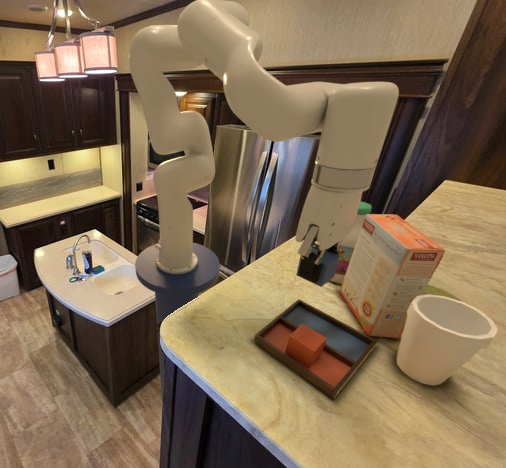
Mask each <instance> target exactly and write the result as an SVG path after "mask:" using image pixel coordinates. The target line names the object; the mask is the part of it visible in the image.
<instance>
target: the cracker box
mask: <svg viewBox="0 0 506 468" xmlns="http://www.w3.org/2000/svg"><path fill="white" fill-rule="evenodd" d="M446 251H447V250H446V249H445V248H443V247H442V246H441V245H440V244H438V243H436V242H435V241H434V240H432V239H431V238H429V236H427V235H426V234H424V233H423V232H421V231H420V230H418V229H417V228H416V227H414V226H413V225H411V224H410V223H409V222H407V221H406V220H405V219H403V218H402V217H400V216H399V215H398V214H393V213H390V214H389V213H385V214H384V213H381V214H377V213H370V214H366V217H365V220H364V223H363V226H362V228H361V231H360V234H359V237H358V240H357V243H356V246H355V248H354V251H353V254H352V257H351V260H350V263H349V266H348V269H347V271H346V274H345V277H344V280H343V283H342V284H341V285H340V289H339V293H340V294H341V296H342V297H343V299H344V301H345V302H346V303H347V306H349V308H350V310H351V311H352V313H353V314H354V317H355V318H356V320H357V321H358V323H359V324H360V325H361V327H362V329H363V331H364V332H365V333H366V335H367V336H369V337H377V338H387V339H388V338H389V339H397V340H398V339H401V337H402V334H403V330H404V327H405V323H406V319H407V310H408V308H409V306H410V304H411V302H412V301H413V300H414V299H415V298H416V297H417V296H421V295H423V293H424V291H425V289H426V287H427V285H429V284H430V281H431V279H432V278H433V276H434V274H435V272H436V271H437V268H438V267H439V265H440V263H441V261H442V259H443V258H444V255H445V253H446Z"/></svg>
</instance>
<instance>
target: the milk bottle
mask: <svg viewBox="0 0 506 468" xmlns="http://www.w3.org/2000/svg"><path fill="white" fill-rule="evenodd" d="M372 208H373V207H372V204H370V203H367V202H366V201H365V202H364V201H360V205H359V209H358V212H357V216H356V219H355V222H354V225H353V227H352V230H351V231H350V233H349V234H348V235H347V236H346V237H344V238H343V239H342V242H341V247H340V249H339V250H338V251H337V252H338V255H339V256H340V259H339V263H338V266H337V269H336V272H335V276H334V277H333V278H332V279H331V280H329V282H333V283H335V284H341V285H342V283H343V280H344V277H345V274H346V271H347V269H348V266H349V263H350V260H351V257H352V254H353V251H354V248H355V246H356V243H357V240H358V237H359V234H360V231H361V228H362V226H363V223H364V220H365V217H366V214H371V212H372V210H373V209H372ZM335 251H336V250H335Z"/></svg>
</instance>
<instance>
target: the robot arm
mask: <svg viewBox="0 0 506 468" xmlns="http://www.w3.org/2000/svg"><path fill="white" fill-rule="evenodd" d="M248 15H249V14H248V13H247V11H246V9H245V8H244V6H242V5H241V4H240V3H238V2H237V1H233V0H194V1H192V2H191V3H189V4H188V5H187V6H185V8H184V9H183V10H182V12H181V13H180V15H179V18H178V21H177V25H176V24H175V25H174V24H156V25H155V24H154V25H149V26H145V27H143V28H141V29H140V30H138V31H137V32H136V33H135V35H134V36H133V38H132V40H131V43H130V46H129V53H128V63H129V64H128V65H129V71H130V74H131V78H132V81H133V84H134V87H135V88H136V91H137V94H138V96H139V98H140V101H141V105H142V110H143V115H144V120H145V124H146V128H147V132H148V135H149V136H148V138H149V141H150V144H151V147H152V149H153V151H154V152H155V153H156V154H158V155H162V156H166V155H171V154H176V153H179V152H184V155H183V156H178V157H174V158H171V159H169V160H165V161H163V162H162V163H160V164H159V165H157V167H156V168H155V170H154V171H153V176H152V177H153V178H152V180H153V181H152V182H153V186H154V190H155V195H156V198H157V206H158V223H159V224H158V226H159V239H158V241H157V243H155V244H156V245H155V244H154V245H155V247H156V248H157V249H159V255H158V256H157V258H156V264H157V266H158V268H159V269H160V270H162V271H164V272H166V273H170V274H184V273H188V272H190V271H192V270H193V269H195V268H196V266H197V263H198V259H197V256H196V255H195V254H194V253H193V243H194V242H193V241H194V208H193V204H192V203H191V201H190V199H189V198H188V193H192V192H193V191H196V190H199V189H202V188H204V187H207V186H208V185H210V184H211V183H212V182H213V181H214V178H215V175H216V163H215V156H214V151H213V145H212V140H211V134H210V127H209V125H208V123H207V120H206V119H205V117H204V115H202V114H201V113H200V112H198V111H196V110H185V111H181V110H180V107H179V104H178V97H177V94H176V90H175V89H174V87H173V85H172V84H171V82H170V80H169V79H168V78H167V77H166V76H165V75H164V71H179V70H190V69H194V68H195V69H196V68H198V67H201V66H204V67H205V68H207V69H208V70H209V71H210V72H211V73H212V74H214V75H215V77H217V78H218V79H219V80H220V81H221V82H222V83H223V84H222V85H223V93H224V96H225V99H226V102H227V104H228V106H229V108H230V110H231V111H232V113H233V114H234V115H235V116H236V117H237V118H238V119H239V120H240V121H241V122H243V124H244V125H245V126H247V127H248V128H249V129H250V130H251V131H252V132H254V133H255V134H256V135H258V136H259V137H260V138H263V139H264V140H267V141H269V142H270V141H271V142H275V143H276V142H277V143H279V142H281V143H282V142H285V141H290V140H293V139H295V138H298V137H301V136H307V135H312V134H315V133H321V134H320V139H319V144H318V149H317V153H316V157H315V162H314V166H313V171H312V177H311V181H310V182H311V186H310V188H309V191H308V193H307V196H306V198H305V201H304V204H303V207H302V211H301V214H300V218H299V220H298V221H299V222H298V225H297V229H296V233H295V241H296V242H297V243H301V242H302V243H301V245H300V247H299V248H298V251H297V254H298V255H300V256H301V258H302V261H301V265H300V269H299V276H300V277H299V276H298V277H299V278H301V277H303V278H305V279H307V280H309V281H311V282H310V283H312V282H313V283H312V284H314V283H317V282H318V280H319V276H320V273H321V269H322V266H323V263H321V260H322V258H323V255H324V252H325V250H326V251H329V252H331V253H334V254H337V255H338V252H337V251H338V250H339V249H340V247H341V242H342V239H343V238H344V237H346V236H347V235H348V234H349V233H350V231H351V230H352V227H353V225H354V222H355V219H356V216H357V212H358V209H359V205H360V202H362V196H363V193H364V192H365V191H367V190H369V189H370V188H371V184H372V181H373V177H374V175H375V171H376V168H377V165H378V162H379V159H380V155H381V152H382V149H383V146H384V143H385V140H386V137H387V134H388V132H389V131H388V130H389V128H390V124H391V122H392V118H393V115H394V112H395V109H396V106H397V103H398V99H399V96H400V95H399V94H400V91H399V87H398V85H396V83H394V82H390V81H363V82H350V83H336V82H326V81H311V82H303V83H296V84H289V85H286V84H285V83H283V82H282V81H280V80H278V79H277V78H276V77H275V76H273V75H272V74H271V73H269V72H268V70H266V69H264V67H263V66H261V65H260V63H259V61H260V59H261V56H262V53H263V49H264V41H263V38H262V37H261V35H260V34H259V33H258V32H256V31H255V30H253V29H252V28H251V27H250V24H249V23H250V21H249V20H250V19H249V16H248ZM159 244H160V245H159ZM312 248H314V249H317V250H319V251H318V254H317V255H316V254H315V253H313V252H312V251H311V250H312ZM335 250H336V251H335ZM303 278H302V279H303ZM305 279H304V280H305ZM307 280H306V281H307ZM309 281H308V282H309Z"/></svg>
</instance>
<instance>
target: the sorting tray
mask: <svg viewBox="0 0 506 468" xmlns="http://www.w3.org/2000/svg"><path fill="white" fill-rule="evenodd" d="M302 324H303V325H305V326H307V327H309V328H310V329H312V330H314V331H315V332H317V333H319V334H320V335H322V336H324V337H326V338H327V340H326V343H325V346H324V349H323V352H322V355H321V356H320V357H319V358H318V359H317V360H316V361H315V362H314V363H313V364H312V366H311V367H310V368H308V367H306V366H305V365H303V364H302V363H300V362H299V361H298V360H296V359H295V358H293V357H292V356H290V355H289V354H287V353H286V352H285V351H286V347H287V343H288V340H289V336H290V335H291V334H292V333H293V332H294V331H295V330H296V329H297V328H299V327H300V326H301V325H302ZM253 343H255V344H256V345H258V346H259V347H260V348H261V349H263V350H264V351H265V352H267V353H268V354H270V355H271V356H273V358H275V359H277V360H278V361H280V363H282V364H284V365H285V366H287V368H289V369H290V370H292V371H293V372H295V374H298V376H300V377H302V378H303V379H304V380H306V381H308V382H309V383H310V384H312V386H313V387H316V389H318V390H319V391H321V392H322V393H324V394H325V395H327V396H328V397H329V398H331V400H335V399H336V398H337V396H338V395H339V394H340V393H341V391H342V390H343V389H344V388H345V386H347V384H348V382H350V380H351V379H352V377H354V375H355V373H356V372H357V371H358V370H359V368H360V367H361V366H362V365H363V363H364V362H365V361H366V359H367V358H368V357H369V356H370V355H371V353H372V352H373V351H374V350H375V348H376V346H377V344H378V340H377V339H375V338H373V337H372V336H368V335H367V333H366V334H365V333H363V332H361V331H360V330H358V329H356V328H354V327H352V326H351V325H348V324H347V323H345V322H343V321H341V320H339V319H337V318H335V317H334V316H331V315H329V314H328V313H326V312H324V311H323V310H321V309H319V308H316V307H315V306H312V305H311V304H309V303H308V302H305V301H303V300H301V299H299V298H298V299H297V300H296V301H295V302H294V303H292V304H291V305H290V306H288V307H287V308H286V309H285V310H284V311H282V312H281V313H280V314H279V315H277V316H276V317H275V318H274V319H273V320H271V321H269V323H267V325H265V326H264V327H263V328H262V329H260V330H259V331H258V332H257V333H255V334H254V339H253Z"/></svg>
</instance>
